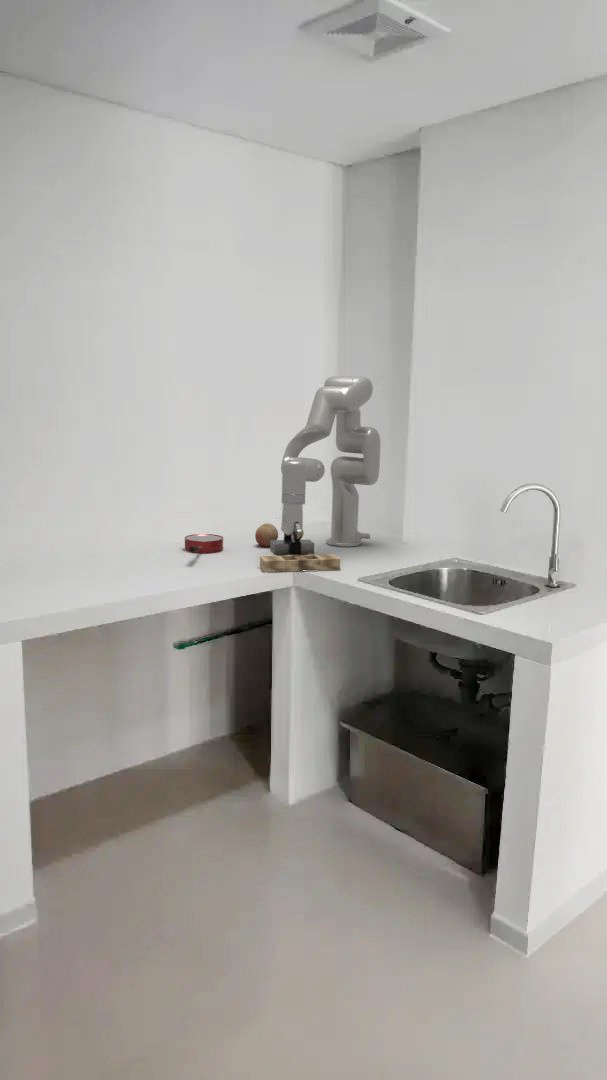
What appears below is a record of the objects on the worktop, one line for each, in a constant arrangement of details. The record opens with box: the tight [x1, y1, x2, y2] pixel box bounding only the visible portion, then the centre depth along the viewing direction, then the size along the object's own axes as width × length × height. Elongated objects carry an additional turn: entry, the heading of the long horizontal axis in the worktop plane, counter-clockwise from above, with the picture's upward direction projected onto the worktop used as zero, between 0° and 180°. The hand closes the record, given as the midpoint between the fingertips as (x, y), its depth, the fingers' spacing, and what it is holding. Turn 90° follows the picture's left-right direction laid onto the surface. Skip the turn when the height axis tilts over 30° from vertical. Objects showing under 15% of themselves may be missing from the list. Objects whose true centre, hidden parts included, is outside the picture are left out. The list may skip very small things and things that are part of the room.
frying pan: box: [184, 533, 224, 555], centre depth 262 cm, size 32×13×6 cm, turn 4°
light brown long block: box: [259, 553, 341, 573], centre depth 247 cm, size 24×7×4 cm, turn 105°
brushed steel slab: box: [269, 539, 315, 556], centre depth 257 cm, size 13×6×6 cm, turn 105°
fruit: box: [254, 522, 279, 548], centre depth 279 cm, size 8×8×8 cm
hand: (292, 551), depth 257 cm, fingers open, 9 cm apart
